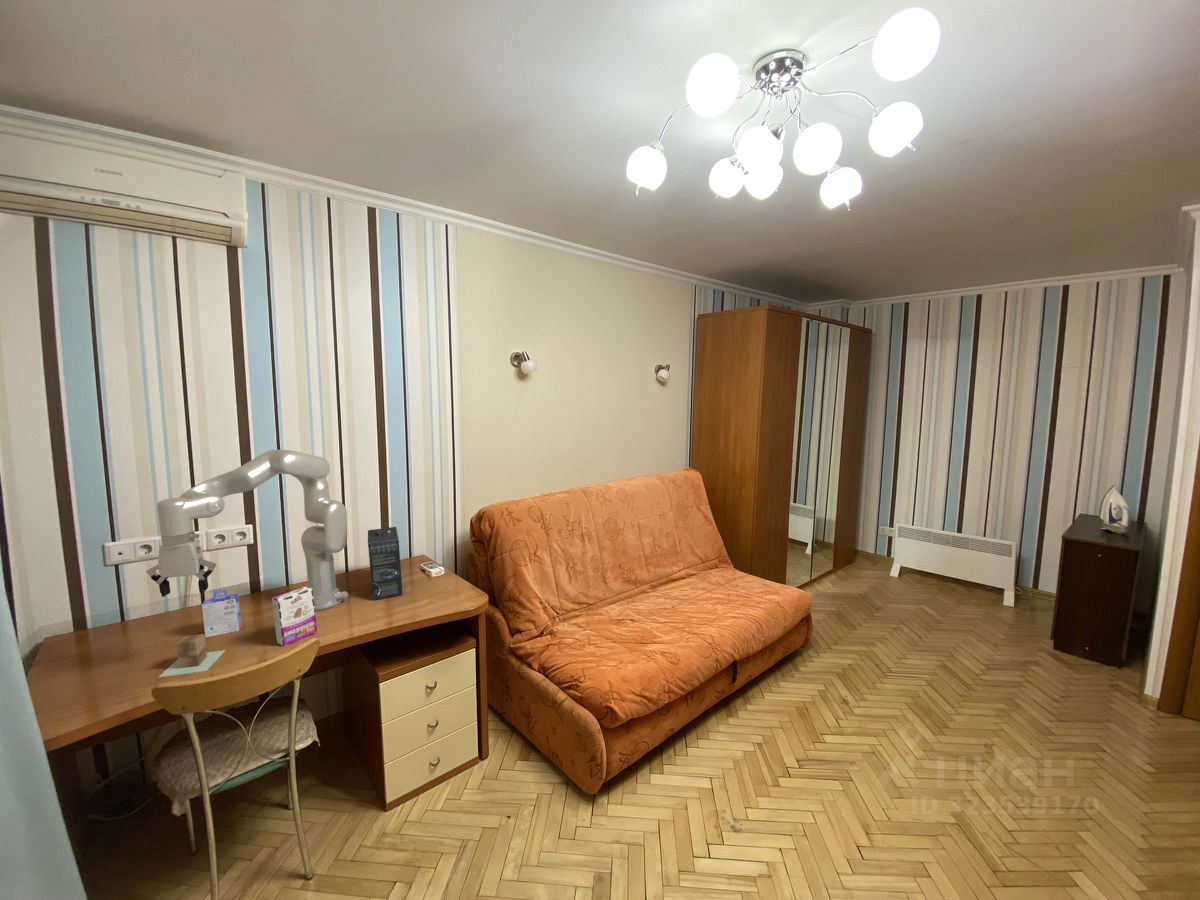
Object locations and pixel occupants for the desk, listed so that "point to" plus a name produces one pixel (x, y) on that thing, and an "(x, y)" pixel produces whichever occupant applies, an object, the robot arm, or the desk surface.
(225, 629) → the ink cartridge box
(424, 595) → the desk surface
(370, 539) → the headset box
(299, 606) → the candy bar box
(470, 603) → the desk surface
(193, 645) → the walnut block
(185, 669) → the green mat
